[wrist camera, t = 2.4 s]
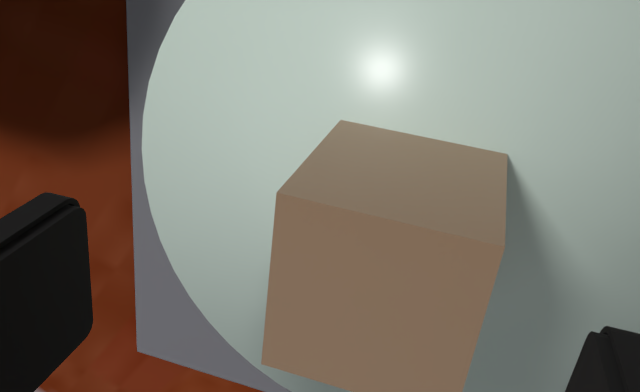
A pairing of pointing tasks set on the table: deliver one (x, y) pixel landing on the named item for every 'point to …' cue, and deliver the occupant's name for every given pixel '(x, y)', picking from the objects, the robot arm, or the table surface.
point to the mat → (149, 255)
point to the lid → (401, 185)
